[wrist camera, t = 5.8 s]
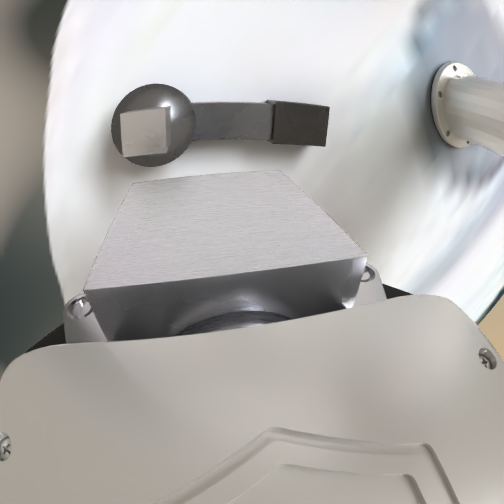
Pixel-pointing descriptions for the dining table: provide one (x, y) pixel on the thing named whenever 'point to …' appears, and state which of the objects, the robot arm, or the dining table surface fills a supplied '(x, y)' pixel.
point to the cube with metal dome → (219, 257)
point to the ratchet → (206, 123)
